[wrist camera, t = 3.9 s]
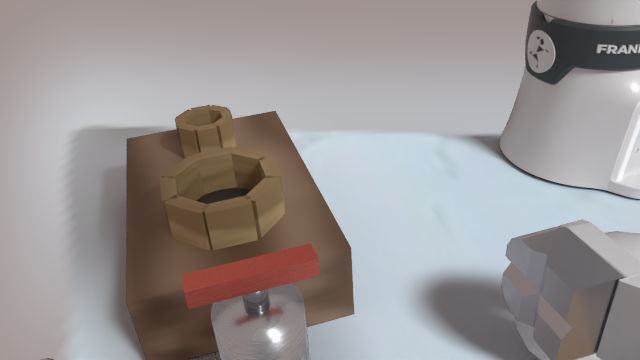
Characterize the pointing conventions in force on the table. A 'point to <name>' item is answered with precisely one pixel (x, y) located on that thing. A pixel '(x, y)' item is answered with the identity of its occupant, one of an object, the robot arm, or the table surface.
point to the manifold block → (221, 222)
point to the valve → (257, 304)
